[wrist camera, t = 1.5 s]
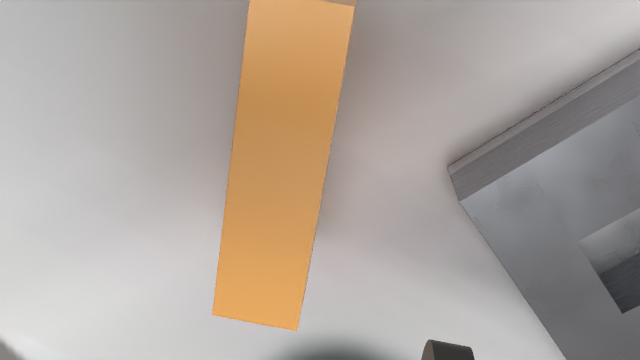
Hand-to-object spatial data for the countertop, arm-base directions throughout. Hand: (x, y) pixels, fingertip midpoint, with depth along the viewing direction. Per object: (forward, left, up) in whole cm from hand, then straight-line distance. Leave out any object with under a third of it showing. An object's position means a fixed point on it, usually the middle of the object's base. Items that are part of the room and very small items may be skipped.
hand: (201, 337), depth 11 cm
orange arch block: (0, 0, -16) cm, 16 cm away
